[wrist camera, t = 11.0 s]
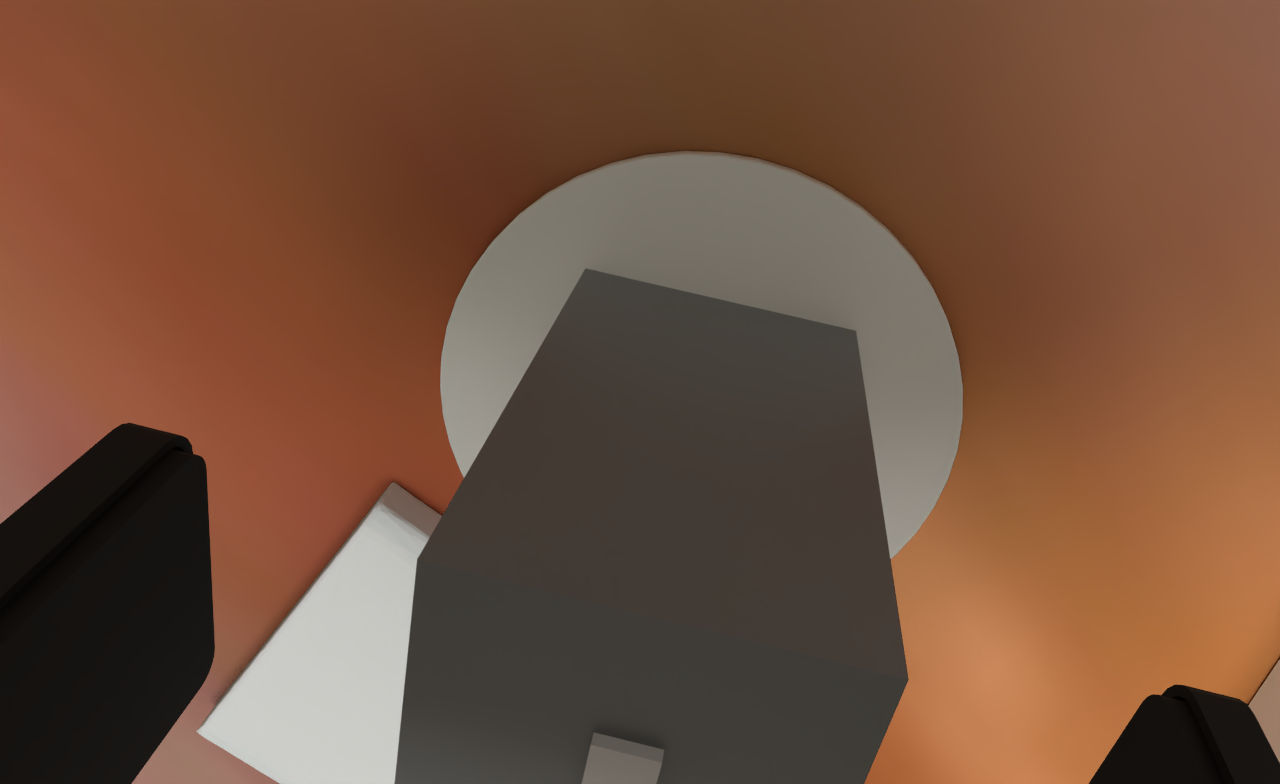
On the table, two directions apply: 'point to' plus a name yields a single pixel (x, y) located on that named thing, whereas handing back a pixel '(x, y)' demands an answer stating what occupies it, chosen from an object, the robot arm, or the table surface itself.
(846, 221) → the coaster
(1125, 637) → the table surface
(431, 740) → the charger
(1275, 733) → the power strip
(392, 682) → the external hard drive
